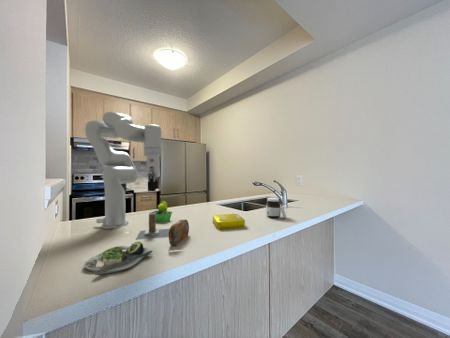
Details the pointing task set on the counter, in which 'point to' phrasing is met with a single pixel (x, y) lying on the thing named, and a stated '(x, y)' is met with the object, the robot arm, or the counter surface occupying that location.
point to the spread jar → (274, 208)
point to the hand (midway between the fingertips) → (153, 189)
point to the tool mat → (162, 234)
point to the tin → (178, 232)
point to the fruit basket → (162, 213)
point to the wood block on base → (152, 226)
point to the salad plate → (117, 258)
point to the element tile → (228, 221)
